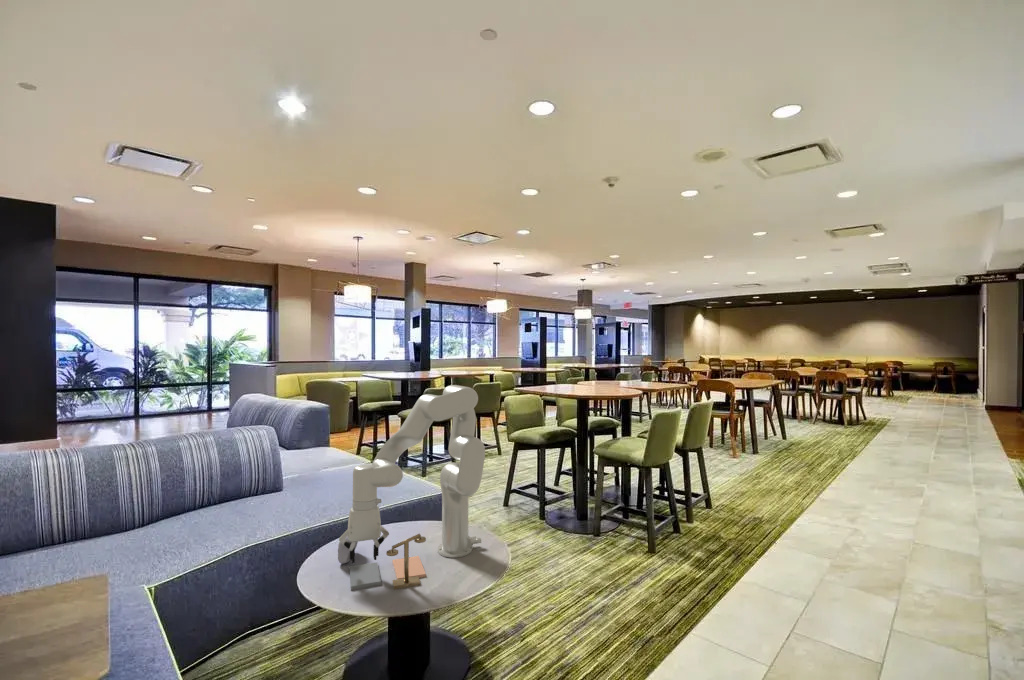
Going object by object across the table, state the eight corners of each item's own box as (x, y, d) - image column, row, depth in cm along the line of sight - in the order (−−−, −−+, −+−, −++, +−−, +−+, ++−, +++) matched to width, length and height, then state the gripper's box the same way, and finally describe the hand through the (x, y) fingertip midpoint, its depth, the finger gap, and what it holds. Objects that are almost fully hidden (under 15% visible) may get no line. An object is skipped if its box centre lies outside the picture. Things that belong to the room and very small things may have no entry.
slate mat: (377, 565, 163) (377, 562, 163) (381, 585, 150) (381, 581, 150) (349, 570, 160) (349, 566, 160) (350, 590, 147) (350, 586, 147)
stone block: (350, 567, 162) (350, 537, 162) (336, 567, 162) (336, 537, 162) (362, 551, 174) (362, 524, 174) (348, 551, 174) (349, 524, 174)
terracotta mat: (418, 559, 168) (418, 555, 168) (425, 577, 155) (425, 573, 155) (392, 563, 165) (392, 559, 165) (397, 582, 152) (397, 578, 152)
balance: (424, 578, 154) (424, 530, 154) (426, 584, 150) (426, 535, 150) (385, 585, 150) (385, 535, 150) (387, 591, 146) (387, 540, 146)
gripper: (390, 497, 162) (390, 551, 161) (336, 503, 156) (335, 558, 155) (393, 504, 155) (392, 560, 154) (336, 510, 149) (335, 569, 148)
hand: (364, 559), depth 155 cm, fingers open, 6 cm apart
